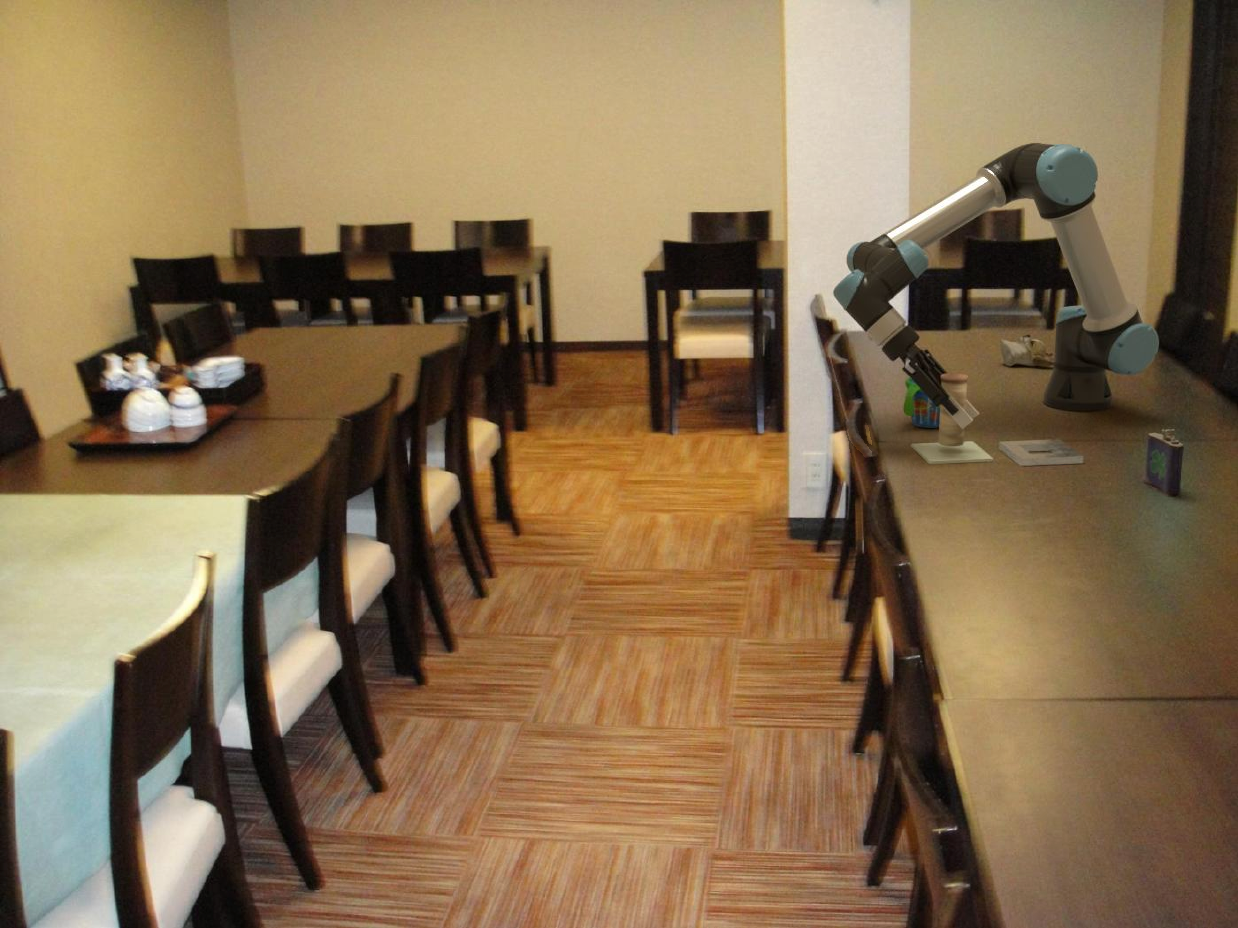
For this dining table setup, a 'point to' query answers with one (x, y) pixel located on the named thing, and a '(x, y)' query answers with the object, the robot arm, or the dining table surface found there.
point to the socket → (1057, 447)
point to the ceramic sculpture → (1025, 352)
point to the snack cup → (920, 407)
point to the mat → (951, 453)
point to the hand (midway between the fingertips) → (970, 421)
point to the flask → (1164, 463)
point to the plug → (947, 426)
